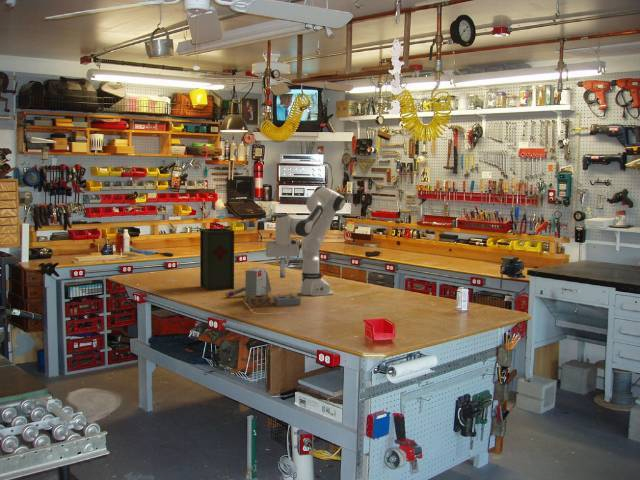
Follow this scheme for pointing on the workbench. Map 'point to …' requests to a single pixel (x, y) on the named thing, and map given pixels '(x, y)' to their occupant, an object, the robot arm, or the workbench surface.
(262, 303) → the rack
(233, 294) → the hammer
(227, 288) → the first aid box
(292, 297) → the tan block
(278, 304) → the socket block
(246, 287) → the hard drive box
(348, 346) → the workbench surface
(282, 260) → the frosted round peg
